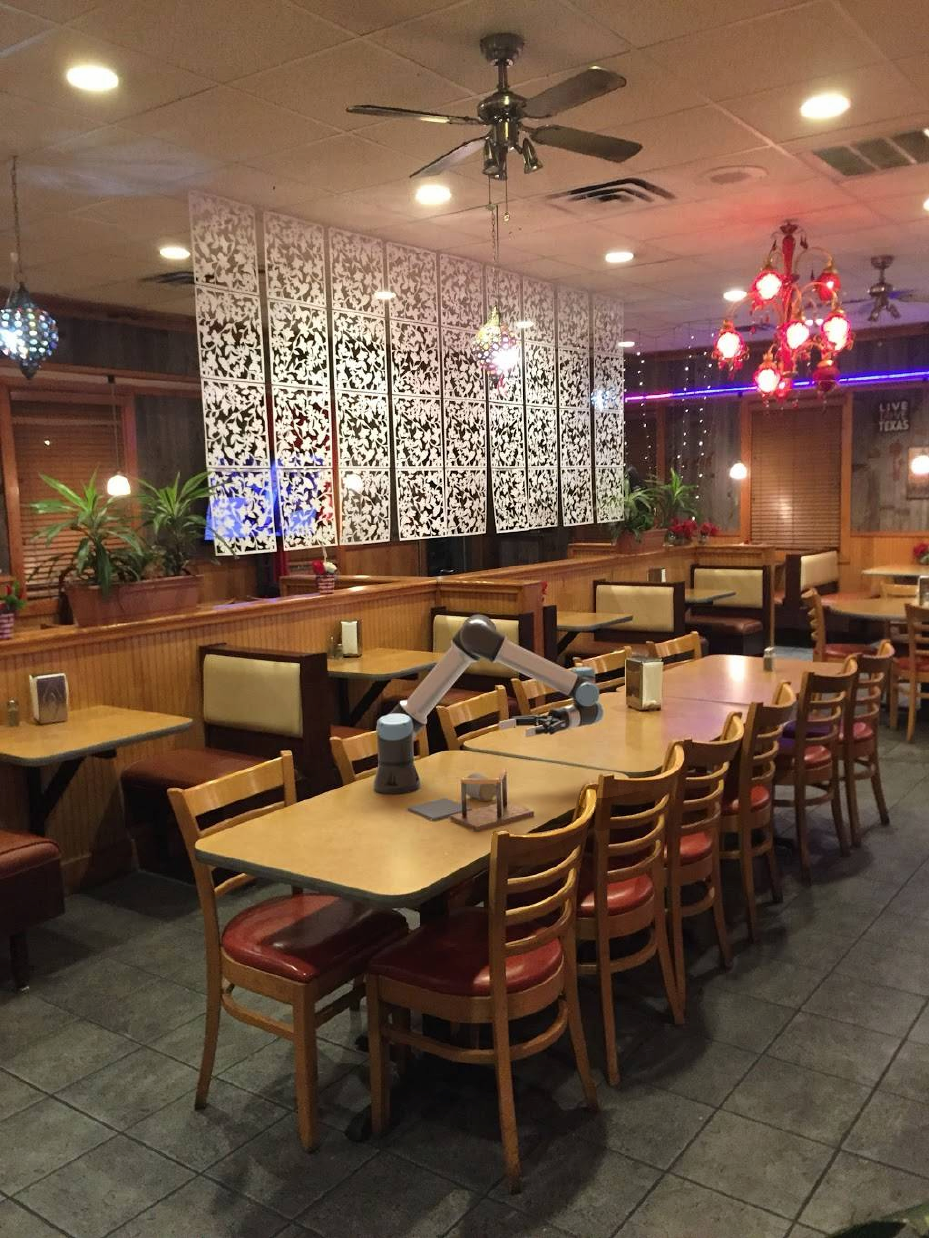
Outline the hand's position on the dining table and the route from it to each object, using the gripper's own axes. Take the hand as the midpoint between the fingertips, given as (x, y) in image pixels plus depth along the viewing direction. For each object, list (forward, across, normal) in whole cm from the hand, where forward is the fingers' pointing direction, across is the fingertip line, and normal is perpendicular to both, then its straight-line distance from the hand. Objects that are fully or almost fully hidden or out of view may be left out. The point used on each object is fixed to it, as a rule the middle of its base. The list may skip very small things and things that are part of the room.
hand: (512, 729), depth 316 cm
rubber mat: (+30, 0, -20) cm, 36 cm away
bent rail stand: (+22, -17, -20) cm, 34 cm away
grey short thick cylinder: (+12, 0, -20) cm, 24 cm away
